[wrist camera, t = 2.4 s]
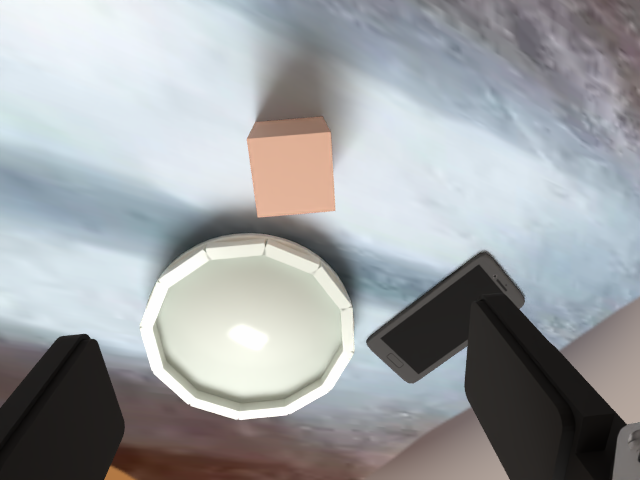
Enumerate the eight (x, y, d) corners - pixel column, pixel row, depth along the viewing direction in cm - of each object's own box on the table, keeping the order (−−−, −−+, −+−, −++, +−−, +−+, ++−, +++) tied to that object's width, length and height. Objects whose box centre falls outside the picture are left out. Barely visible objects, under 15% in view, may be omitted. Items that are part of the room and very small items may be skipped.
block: (322, 116, 32) (330, 131, 25) (326, 181, 34) (335, 210, 28) (255, 121, 32) (246, 138, 25) (263, 186, 34) (257, 217, 27)
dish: (347, 220, 35) (351, 232, 33) (355, 389, 43) (359, 409, 40) (127, 240, 35) (115, 254, 32) (173, 407, 42) (166, 428, 40)
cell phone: (362, 339, 41) (363, 344, 40) (482, 247, 38) (486, 250, 37) (408, 381, 43) (410, 387, 42) (525, 298, 40) (529, 302, 39)
